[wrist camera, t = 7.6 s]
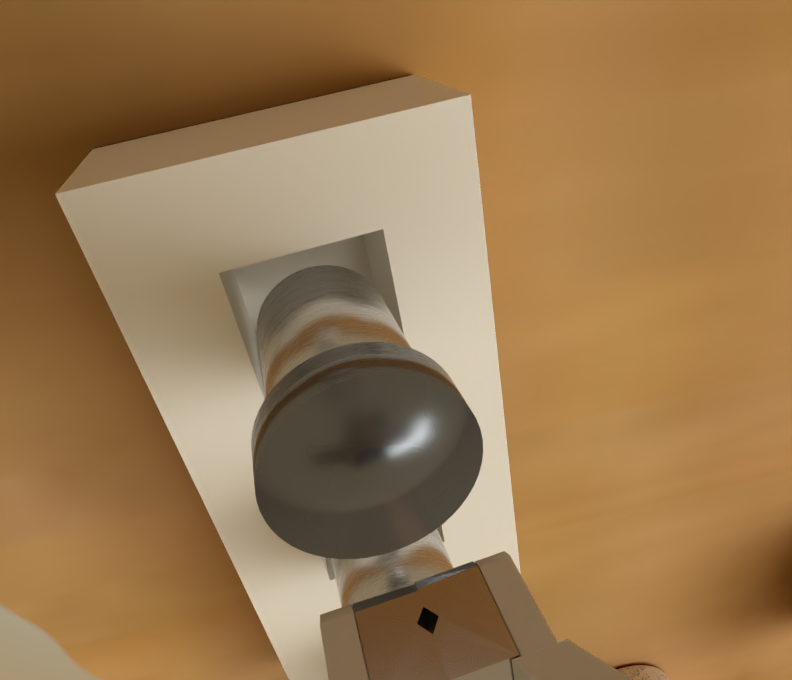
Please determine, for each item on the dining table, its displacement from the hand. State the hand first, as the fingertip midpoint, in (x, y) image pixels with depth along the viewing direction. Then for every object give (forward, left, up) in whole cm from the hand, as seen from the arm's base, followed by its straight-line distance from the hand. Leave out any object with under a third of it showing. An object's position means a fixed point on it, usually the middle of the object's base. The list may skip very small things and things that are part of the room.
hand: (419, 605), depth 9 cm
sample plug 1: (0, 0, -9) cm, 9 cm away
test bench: (+8, 0, -14) cm, 16 cm away
